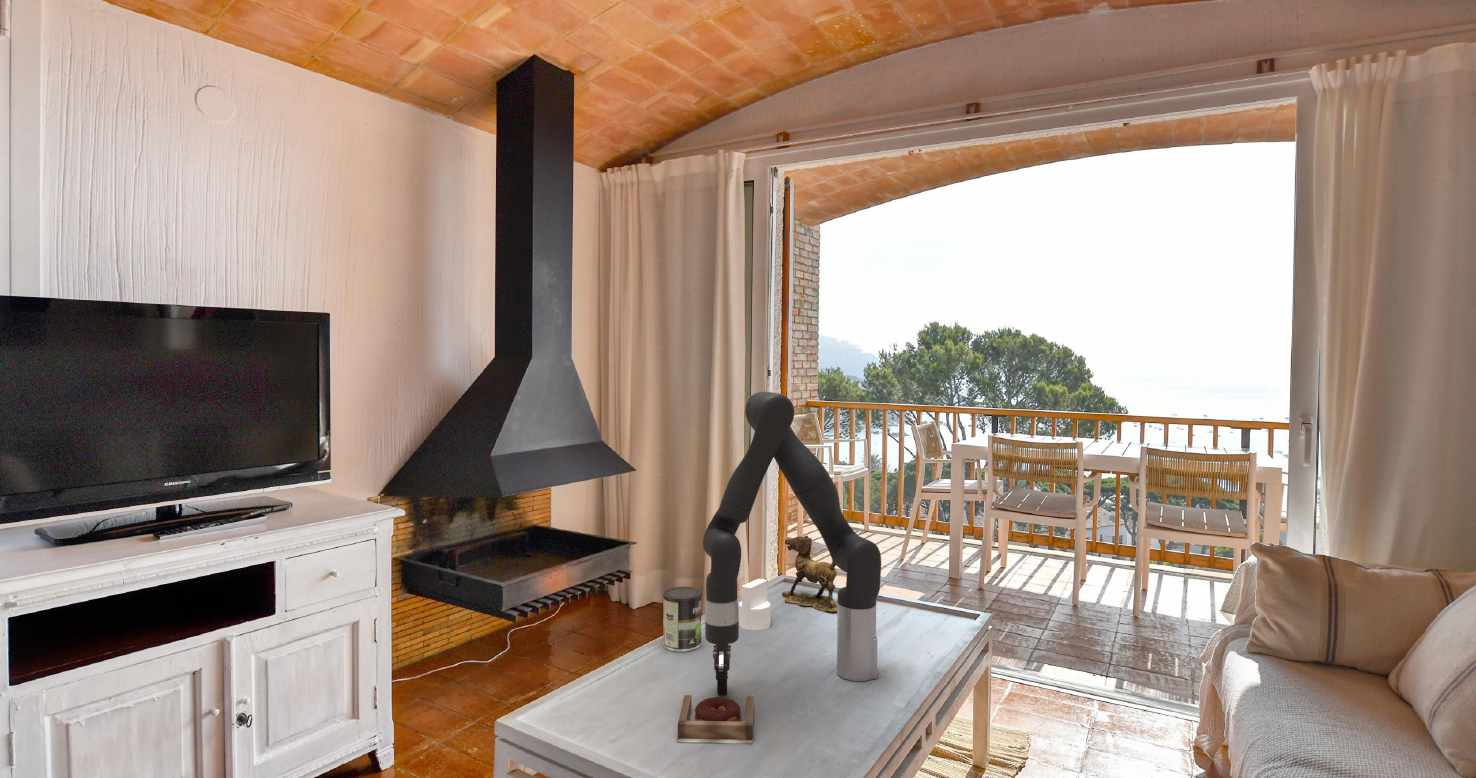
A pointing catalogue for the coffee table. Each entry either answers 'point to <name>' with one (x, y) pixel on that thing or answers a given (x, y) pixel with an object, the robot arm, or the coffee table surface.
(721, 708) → the donut
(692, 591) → the coffee can
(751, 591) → the base with upright slab
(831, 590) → the figurine
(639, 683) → the coffee table surface
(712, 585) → the robot arm
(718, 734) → the walnut pocket
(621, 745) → the coffee table surface
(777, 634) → the coffee table surface
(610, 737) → the coffee table surface
